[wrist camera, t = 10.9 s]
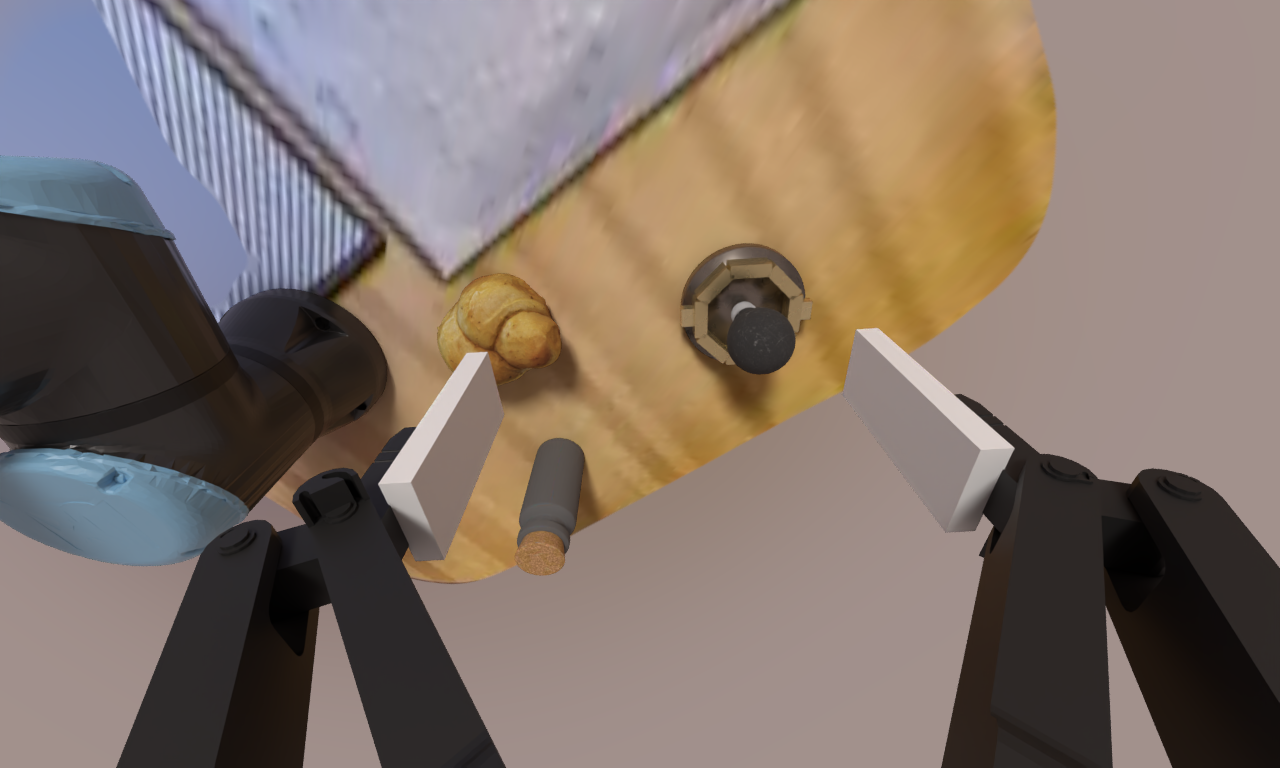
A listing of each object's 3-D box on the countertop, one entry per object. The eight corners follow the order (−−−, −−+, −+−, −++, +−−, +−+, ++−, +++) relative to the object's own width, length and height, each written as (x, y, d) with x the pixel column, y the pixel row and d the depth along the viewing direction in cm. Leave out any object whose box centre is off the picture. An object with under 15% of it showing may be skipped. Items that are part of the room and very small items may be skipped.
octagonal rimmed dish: (679, 359, 49) (682, 376, 46) (677, 247, 43) (681, 258, 40) (794, 352, 49) (805, 368, 46) (809, 239, 42) (823, 249, 39)
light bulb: (701, 318, 45) (720, 366, 36) (737, 271, 42) (766, 310, 34) (745, 345, 46) (772, 398, 38) (782, 301, 44) (820, 346, 35)
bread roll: (489, 387, 50) (467, 431, 43) (419, 323, 46) (383, 360, 39) (578, 323, 46) (569, 360, 40) (510, 247, 42) (487, 273, 35)
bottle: (540, 475, 57) (514, 581, 44) (533, 438, 54) (502, 540, 41) (587, 473, 57) (574, 578, 44) (581, 436, 54) (566, 538, 41)
